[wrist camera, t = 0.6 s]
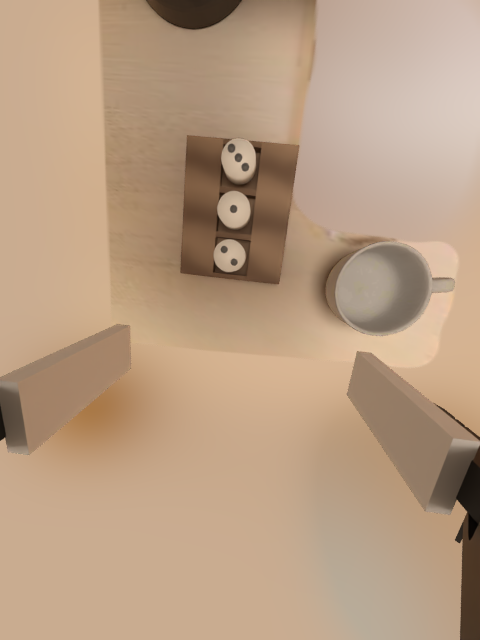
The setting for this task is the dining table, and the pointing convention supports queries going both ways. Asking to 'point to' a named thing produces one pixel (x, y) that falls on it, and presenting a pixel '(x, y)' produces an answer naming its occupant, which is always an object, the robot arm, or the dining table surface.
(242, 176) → the button three
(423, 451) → the robot arm
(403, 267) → the teacup
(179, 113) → the dining table surface
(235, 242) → the button two
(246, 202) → the button one
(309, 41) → the dining table surface
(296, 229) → the dining table surface
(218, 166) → the panel
